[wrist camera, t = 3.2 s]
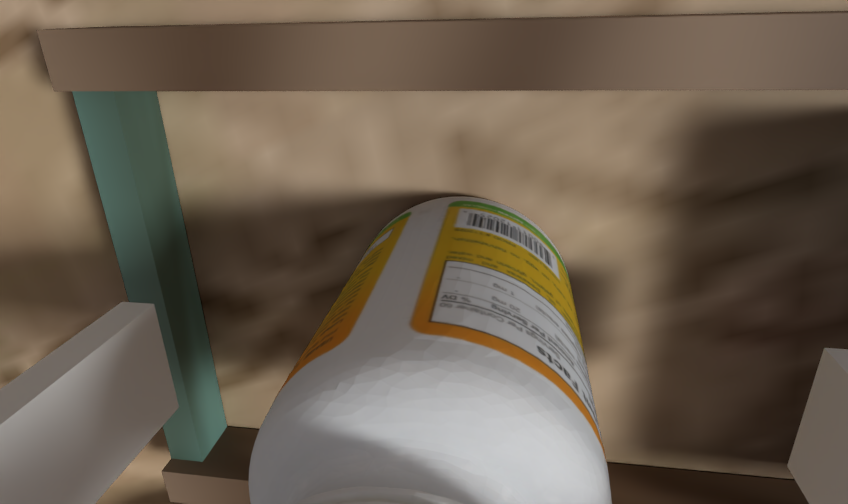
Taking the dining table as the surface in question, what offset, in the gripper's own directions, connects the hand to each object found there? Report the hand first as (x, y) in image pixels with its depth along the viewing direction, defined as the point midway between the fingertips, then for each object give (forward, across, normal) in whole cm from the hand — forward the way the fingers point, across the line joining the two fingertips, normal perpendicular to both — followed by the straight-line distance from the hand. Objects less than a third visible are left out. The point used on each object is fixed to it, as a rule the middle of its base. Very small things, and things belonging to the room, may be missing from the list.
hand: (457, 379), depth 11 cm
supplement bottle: (+4, 0, 0) cm, 4 cm away
